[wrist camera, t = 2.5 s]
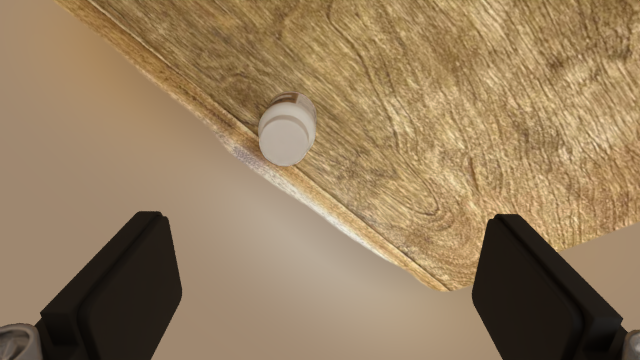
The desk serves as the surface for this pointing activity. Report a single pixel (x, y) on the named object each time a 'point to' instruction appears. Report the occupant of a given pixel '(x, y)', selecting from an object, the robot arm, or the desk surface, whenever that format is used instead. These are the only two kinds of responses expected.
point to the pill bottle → (287, 128)
